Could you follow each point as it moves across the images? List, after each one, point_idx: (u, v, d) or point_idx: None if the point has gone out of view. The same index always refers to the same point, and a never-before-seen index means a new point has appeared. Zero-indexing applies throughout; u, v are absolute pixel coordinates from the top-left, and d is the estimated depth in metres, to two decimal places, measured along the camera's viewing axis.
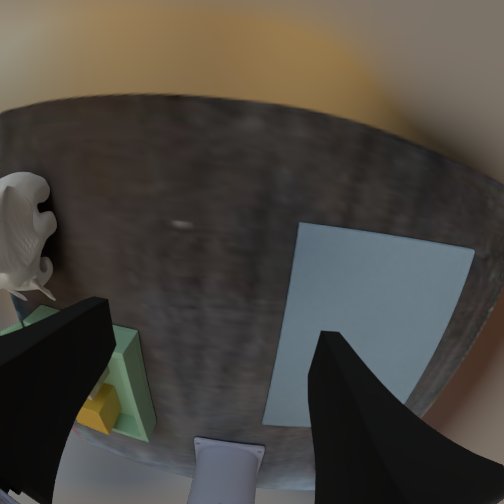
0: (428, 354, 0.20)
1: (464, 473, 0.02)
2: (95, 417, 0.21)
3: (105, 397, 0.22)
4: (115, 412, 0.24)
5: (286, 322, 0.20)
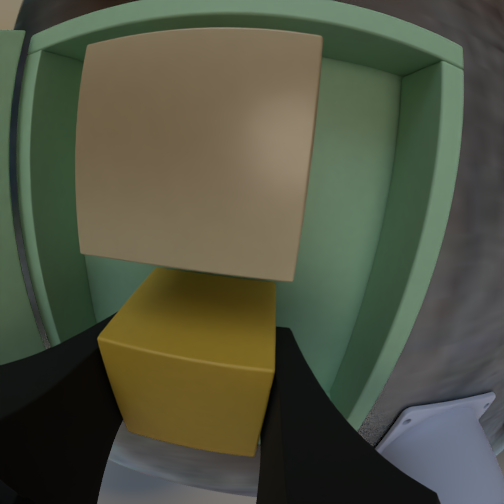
0: None
1: (380, 496, 0.02)
2: (238, 400, 0.06)
3: (267, 311, 0.07)
4: None
5: None
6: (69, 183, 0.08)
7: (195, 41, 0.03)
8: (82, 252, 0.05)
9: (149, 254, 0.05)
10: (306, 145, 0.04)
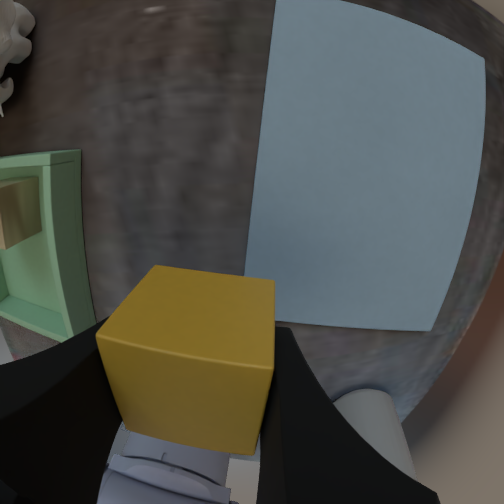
0: (470, 192, 0.14)
1: (380, 496, 0.02)
2: (237, 398, 0.06)
3: (266, 309, 0.07)
4: None
5: (269, 97, 0.13)
6: None
7: None
8: None
9: None
10: None
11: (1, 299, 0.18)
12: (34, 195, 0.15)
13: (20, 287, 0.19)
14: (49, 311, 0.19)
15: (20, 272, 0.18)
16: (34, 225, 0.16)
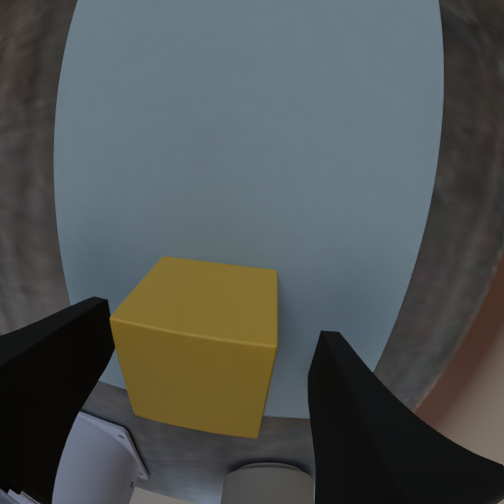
0: (413, 226, 0.09)
1: (464, 473, 0.02)
2: (242, 377, 0.06)
3: (269, 294, 0.08)
4: None
5: (58, 123, 0.08)
6: None
7: None
8: None
9: None
10: None
11: None
12: None
13: None
14: None
15: None
16: None
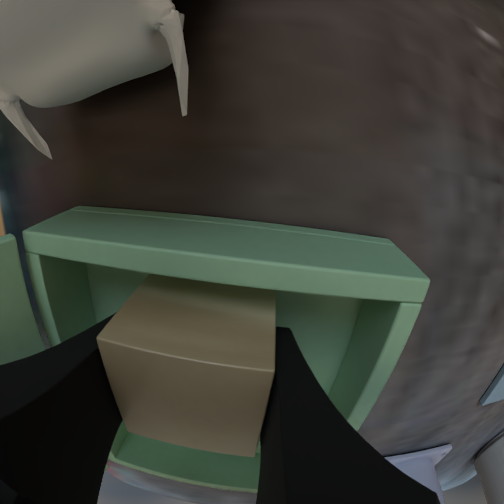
0: None
1: (380, 496, 0.02)
2: None
3: None
4: None
5: None
6: None
7: (183, 367, 0.06)
8: (128, 431, 0.07)
9: (173, 441, 0.07)
10: (259, 420, 0.06)
11: (121, 441, 0.12)
12: None
13: None
14: None
15: None
16: None
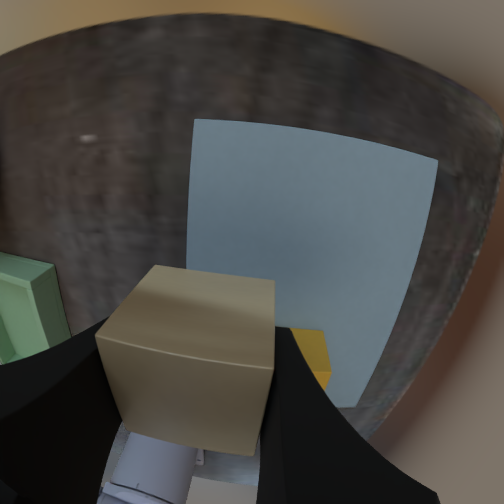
0: (394, 308, 0.17)
1: (380, 496, 0.02)
2: None
3: (323, 347, 0.16)
4: None
5: (190, 244, 0.16)
6: None
7: (181, 364, 0.06)
8: (127, 429, 0.07)
9: (172, 440, 0.07)
10: (258, 418, 0.06)
11: (9, 357, 0.21)
12: None
13: (24, 350, 0.22)
14: None
15: (23, 340, 0.22)
16: None
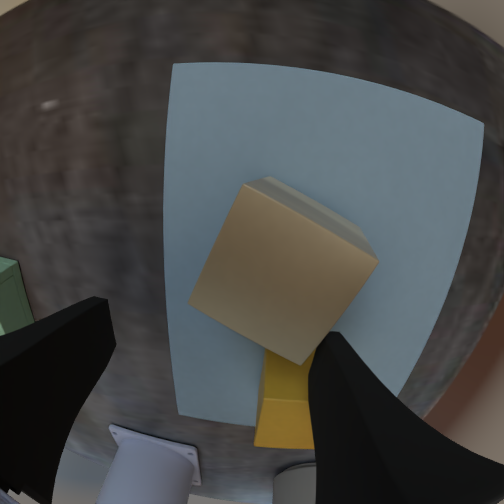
0: (433, 310, 0.12)
1: (465, 472, 0.02)
2: None
3: None
4: None
5: (168, 230, 0.12)
6: None
7: (312, 233, 0.07)
8: (188, 303, 0.09)
9: (234, 325, 0.08)
10: (339, 313, 0.07)
11: None
12: None
13: None
14: None
15: None
16: None
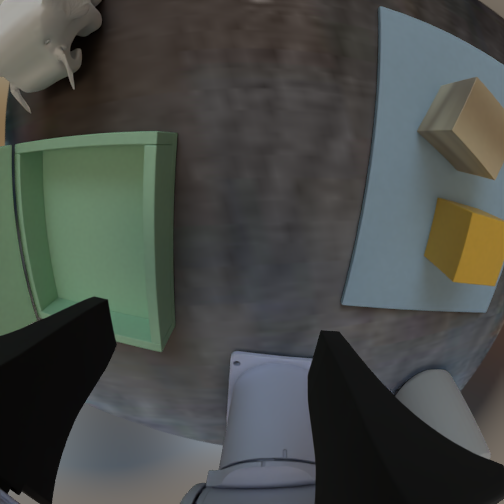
0: None
1: (464, 473, 0.02)
2: (503, 241, 0.12)
3: (491, 214, 0.13)
4: None
5: (381, 103, 0.14)
6: (39, 208, 0.16)
7: (499, 107, 0.09)
8: (452, 130, 0.10)
9: (472, 148, 0.10)
10: None
11: (50, 302, 0.19)
12: None
13: (76, 288, 0.19)
14: (116, 313, 0.19)
15: (79, 270, 0.19)
16: None
